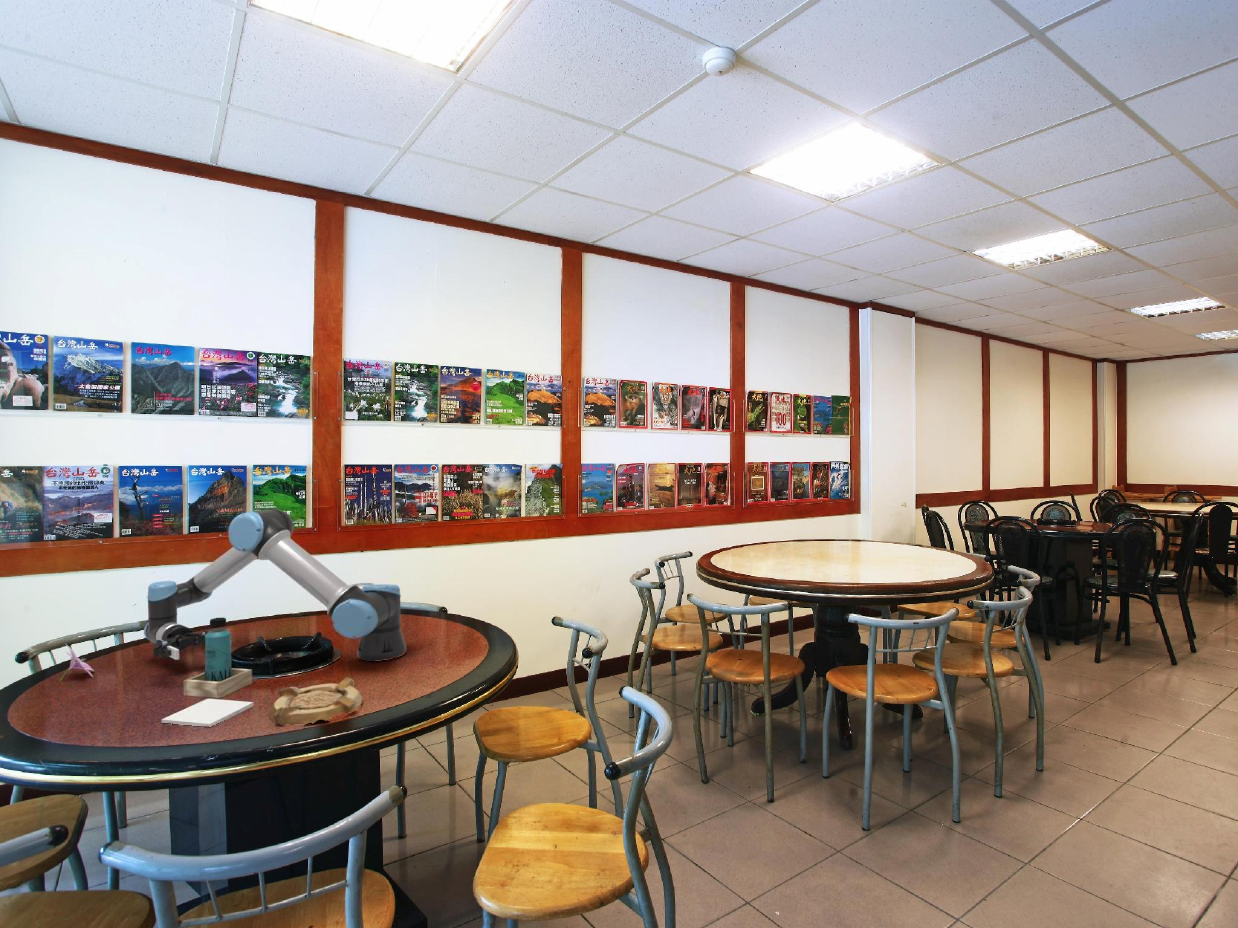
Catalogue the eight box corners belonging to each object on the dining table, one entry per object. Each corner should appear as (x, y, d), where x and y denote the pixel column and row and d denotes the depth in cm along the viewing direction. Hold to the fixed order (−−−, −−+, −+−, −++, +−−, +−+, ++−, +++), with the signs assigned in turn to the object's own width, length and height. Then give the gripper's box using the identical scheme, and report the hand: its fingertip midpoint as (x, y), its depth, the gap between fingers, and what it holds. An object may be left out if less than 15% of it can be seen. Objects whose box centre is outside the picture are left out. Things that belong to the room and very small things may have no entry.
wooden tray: (252, 683, 189) (251, 669, 189) (220, 698, 178) (219, 683, 178) (217, 680, 192) (217, 667, 192) (183, 695, 180) (183, 680, 180)
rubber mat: (253, 706, 172) (253, 702, 172) (210, 728, 158) (210, 723, 158) (207, 702, 175) (207, 698, 175) (161, 723, 161) (161, 719, 161)
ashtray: (295, 692, 183) (294, 674, 183) (379, 693, 182) (379, 675, 182) (243, 728, 159) (243, 707, 159) (340, 728, 159) (340, 708, 158)
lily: (77, 689, 189) (97, 656, 192) (33, 675, 187) (54, 642, 190) (95, 688, 199) (113, 657, 203) (54, 675, 197) (73, 644, 201)
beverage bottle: (212, 685, 188) (211, 615, 187) (236, 684, 188) (235, 615, 188) (199, 693, 181) (198, 621, 181) (225, 692, 182) (224, 620, 182)
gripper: (219, 639, 212) (249, 651, 200) (126, 659, 192) (154, 673, 180) (218, 616, 212) (249, 626, 200) (126, 633, 192) (153, 646, 180)
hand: (204, 648), depth 190 cm, fingers open, 13 cm apart
